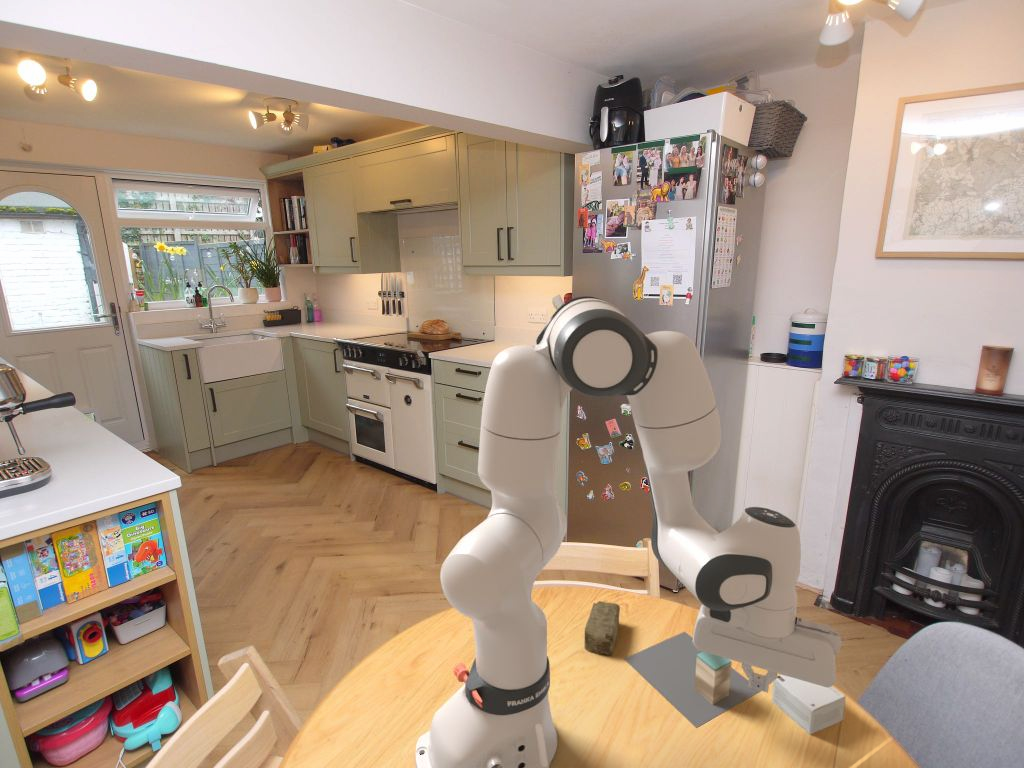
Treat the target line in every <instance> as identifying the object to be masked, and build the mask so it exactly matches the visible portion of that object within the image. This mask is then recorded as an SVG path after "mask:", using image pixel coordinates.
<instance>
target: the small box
mask: <svg viewBox="0 0 1024 768" xmlns="http://www.w3.org/2000/svg"><path fill="white" fill-rule="evenodd" d="M772 683H773V684H772V692H771V693H772V695H771V702H772V703H773V704H775V705H776V706H777V708H779V709H780V710H781V711H782V712H783V713H784V714H786V715H787V717H789V718H790V719H791V720H792V721H793V722H795V723H796V725H798V726H799V727H800V728H801V729H802V730H804V731H805V733H807V734H808V735H813V734H816V733H818V732H820V731H823V730H824V729H826V728H830V727H831V726H834V725H836V724H838V723H840V722H842V721H844V711H845V702H846V695H844V694H843V693H842V692H840V691H839V690H838V689H836V688H835V687H834V686H833V685H832V686H831V687H828V688H827V687H823V686H820V685H816V684H813V683H810V682H806V681H803V680H799V679H796V678H792V677H789V676H785V675H782V674H779V675H777V679H775V680H774V681H773V682H772Z"/></svg>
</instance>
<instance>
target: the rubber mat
mask: <svg viewBox="0 0 1024 768" xmlns="http://www.w3.org/2000/svg"><path fill="white" fill-rule="evenodd" d="M701 652H703V651H699V650H697V649H696V647H695V646H694V644H693V636H691V635H690V634H688V633H687V632H686V631H683V632H681V633H678V634H676V635H674V636H671V637H669V638H667V639H665V640H663V641H660V642H658V643H655V644H654V645H652V646H651V645H650V647H647V648H645V649H642V650H640V651H637V652H635V653H634V654H631V655H630V656H629V655H628V656H627V657H624V658H623V660H625V662H626V663H628V665H629V666H630V667H632V668H633V669H634V671H636V672H637V674H639V675H640V676H641V677H642V678H643V679H644V680H645V681H647V683H649V685H650V686H652V688H654V689H655V690H656V691H657V692H658V693H659V694H660V695H661V696H662V697H663V698H664V699H665V700H666V701H667V702H668V703H669V704H670V705H671V706H673V707H674V708H675V709H676V710H677V711H678V712H679V713H680V714H681V716H684V718H685V719H686V720H687V721H688V722H689V723H691V725H693V726H694V727H695V729H697V728H699V727H701V726H703V725H704V724H706V723H707V722H710V721H711V720H713V719H715V718H716V717H718V716H721V715H722V714H724V713H725V712H728V711H729V710H731V709H732V708H734V707H736V706H737V705H739V704H741V703H744V701H746V700H748V699H749V698H752V697H753V696H755V695H757V694H759V693H760V692H762V691H761V690H757V689H754V688H751V687H748V680H749V679H747V677H744V676H743V675H742V674H741V673H740V672H738V671H737V670H735V669H734V668H733V667H731V674H730V687H729V696H728V697H726V698H724V699H722V700H720V701H719V702H717V703H715V704H713V705H712V704H711V703H710V702H709V701H708V700H707V699H705V698H704V697H703V696H702V695H701V694H700V693H699V692H697V691H696V690H695V675H696V660H697V654H699V653H701Z"/></svg>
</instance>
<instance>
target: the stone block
mask: <svg viewBox="0 0 1024 768" xmlns="http://www.w3.org/2000/svg"><path fill="white" fill-rule="evenodd" d="M620 609H621V607H620V605H619V604H618V603H615V602H614V603H611V602H607V601H606V602H605V601H601V600H599V601H597V602H594V603H593V604H592V607H591V610H590V614H589V617H588V619H587V621H586V624H585V627H584V646H583V647H584V649H585V650H586V651H588V652H590V653H593V654H597V655H602V654H604V655H607V656H611V655H612V654H613V653H614V649H615V646H616V645H615V644H616V640H617V636H618V633H619V626H620Z"/></svg>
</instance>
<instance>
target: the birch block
mask: <svg viewBox="0 0 1024 768" xmlns="http://www.w3.org/2000/svg"><path fill="white" fill-rule="evenodd" d="M732 661H733V660H730V659H727V658H724V657H720V656H717V655H713V654H710V653H706V652H701V653H699V654H697V660H696V675H695V690H696V691H697V692H699V693H700V694H701V695H702V696H703V697H704V698H705V699H707V700H708V701H709V702H710V703H711V704H712V705H713V704H715V703H717V702H719V701H720V700H722V699H724V698H726V697H728V696H729V687H730V674H731V668H732Z"/></svg>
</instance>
